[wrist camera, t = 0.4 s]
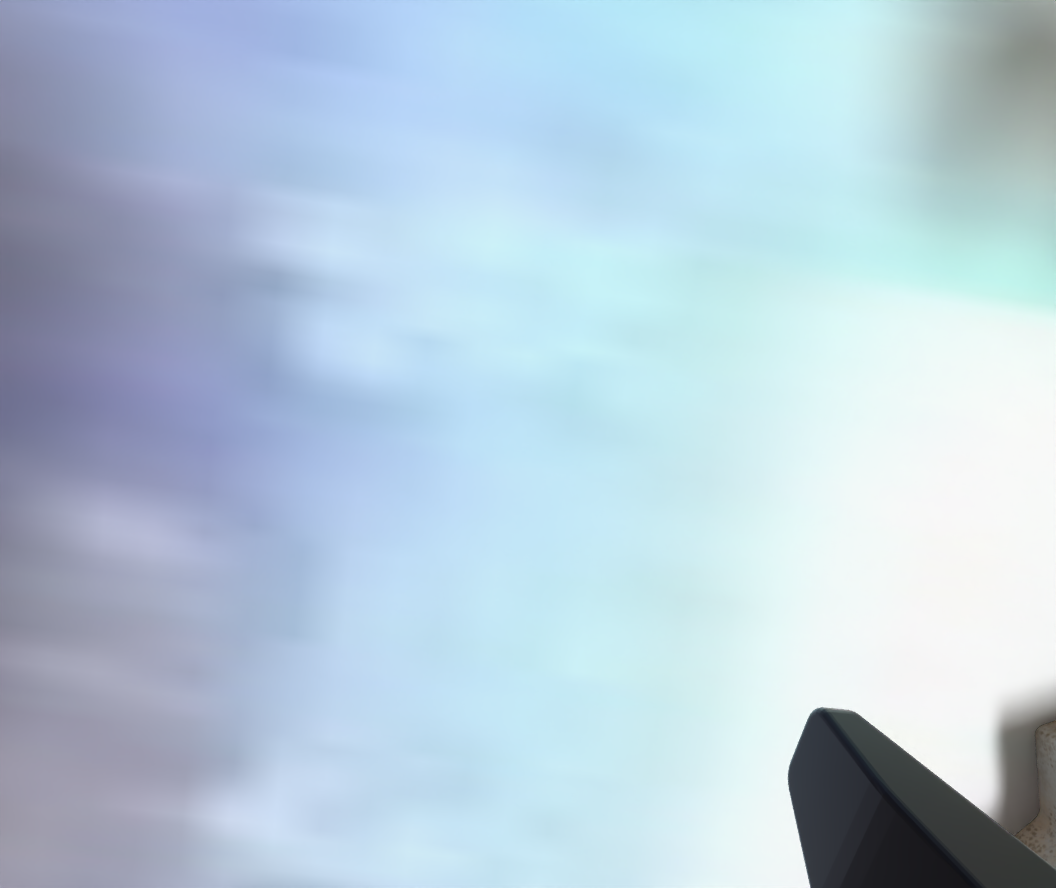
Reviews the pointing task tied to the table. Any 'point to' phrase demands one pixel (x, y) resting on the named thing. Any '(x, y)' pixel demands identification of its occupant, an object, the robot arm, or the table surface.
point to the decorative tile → (1044, 798)
